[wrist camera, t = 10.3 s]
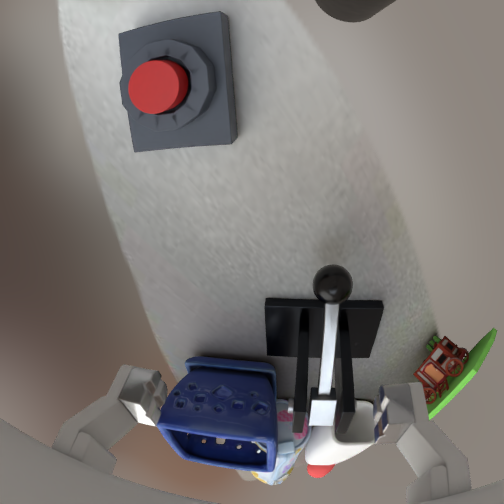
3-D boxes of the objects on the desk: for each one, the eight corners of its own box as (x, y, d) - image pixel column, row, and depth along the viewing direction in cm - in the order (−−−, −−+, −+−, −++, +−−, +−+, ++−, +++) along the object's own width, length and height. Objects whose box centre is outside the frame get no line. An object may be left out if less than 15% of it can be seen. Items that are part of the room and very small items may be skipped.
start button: (137, 65, 18) (125, 66, 16) (186, 56, 17) (176, 55, 16) (143, 113, 19) (131, 117, 18) (191, 106, 19) (181, 110, 17)
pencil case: (295, 446, 52) (291, 489, 44) (251, 442, 53) (243, 484, 45) (315, 396, 41) (312, 456, 33) (254, 390, 42) (243, 449, 34)
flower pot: (284, 404, 43) (276, 475, 33) (199, 395, 45) (180, 461, 35) (286, 350, 36) (276, 441, 26) (180, 341, 38) (149, 421, 28)
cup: (299, 469, 43) (332, 445, 34) (300, 432, 49) (329, 399, 40) (339, 469, 43) (380, 444, 34) (338, 434, 49) (374, 400, 40)
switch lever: (312, 262, 26) (314, 266, 23) (350, 263, 25) (357, 267, 22) (303, 409, 27) (302, 428, 23) (336, 410, 26) (339, 428, 23)
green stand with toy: (488, 358, 20) (443, 318, 24) (396, 448, 27) (361, 414, 31) (500, 316, 30) (468, 290, 34) (437, 393, 37) (410, 368, 41)
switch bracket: (265, 297, 32) (248, 398, 22) (382, 300, 30) (402, 399, 20) (268, 348, 36) (254, 437, 26) (368, 350, 34) (377, 439, 24)
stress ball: (336, 483, 47) (317, 467, 48) (311, 482, 54) (293, 467, 55) (349, 464, 51) (331, 448, 52) (323, 466, 57) (306, 450, 58)
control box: (131, 35, 19) (105, 33, 16) (228, 15, 18) (214, 6, 15) (145, 145, 25) (123, 159, 21) (237, 138, 23) (226, 150, 20)
